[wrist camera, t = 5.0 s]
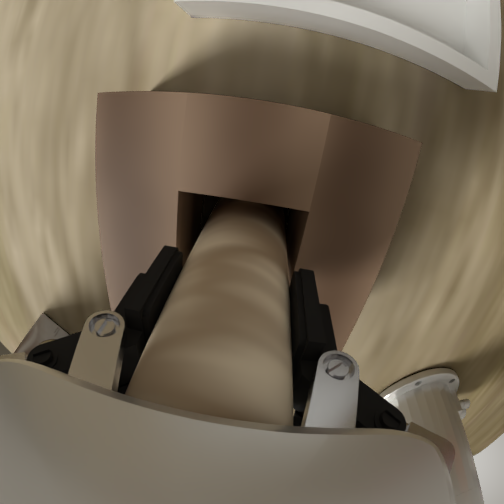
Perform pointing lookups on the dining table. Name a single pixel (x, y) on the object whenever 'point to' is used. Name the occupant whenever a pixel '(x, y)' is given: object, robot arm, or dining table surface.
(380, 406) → the robot arm
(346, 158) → the socket block
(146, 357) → the dowel
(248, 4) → the tray
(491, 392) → the dining table surface
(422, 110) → the dining table surface
